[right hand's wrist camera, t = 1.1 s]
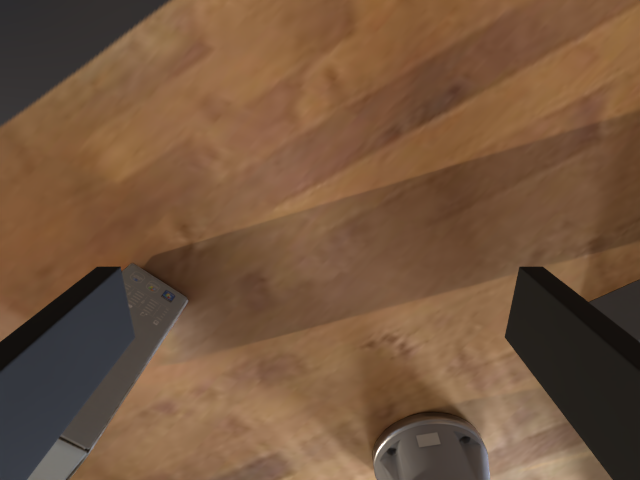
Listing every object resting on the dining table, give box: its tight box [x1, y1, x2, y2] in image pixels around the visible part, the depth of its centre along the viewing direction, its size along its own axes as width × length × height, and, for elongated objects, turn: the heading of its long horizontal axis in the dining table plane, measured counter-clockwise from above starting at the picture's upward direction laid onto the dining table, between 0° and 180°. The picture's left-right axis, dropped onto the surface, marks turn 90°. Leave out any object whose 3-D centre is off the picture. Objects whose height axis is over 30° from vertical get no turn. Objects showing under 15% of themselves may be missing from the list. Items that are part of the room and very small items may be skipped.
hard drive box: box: [27, 263, 188, 480], centre depth 35 cm, size 16×8×20 cm, turn 141°
